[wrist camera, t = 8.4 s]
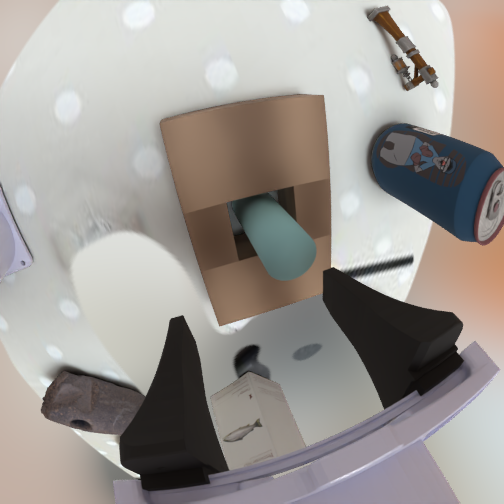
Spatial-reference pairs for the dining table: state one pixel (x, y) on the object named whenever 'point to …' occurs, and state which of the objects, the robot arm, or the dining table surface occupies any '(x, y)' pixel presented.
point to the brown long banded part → (404, 51)
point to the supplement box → (254, 421)
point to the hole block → (252, 193)
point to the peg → (275, 236)
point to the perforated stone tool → (90, 404)
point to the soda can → (442, 180)
